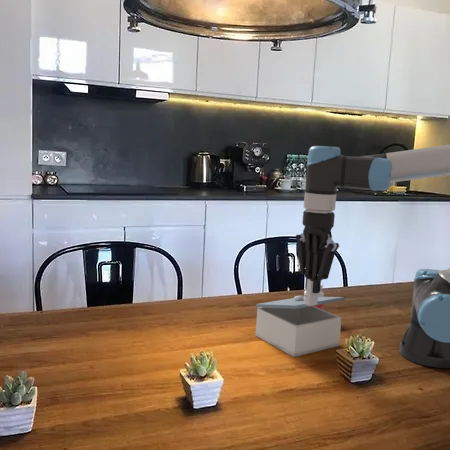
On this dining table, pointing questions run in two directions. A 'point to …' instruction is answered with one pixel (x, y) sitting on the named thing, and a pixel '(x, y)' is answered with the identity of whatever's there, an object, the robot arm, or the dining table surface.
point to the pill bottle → (320, 294)
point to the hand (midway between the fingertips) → (311, 304)
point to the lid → (297, 302)
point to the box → (298, 329)
